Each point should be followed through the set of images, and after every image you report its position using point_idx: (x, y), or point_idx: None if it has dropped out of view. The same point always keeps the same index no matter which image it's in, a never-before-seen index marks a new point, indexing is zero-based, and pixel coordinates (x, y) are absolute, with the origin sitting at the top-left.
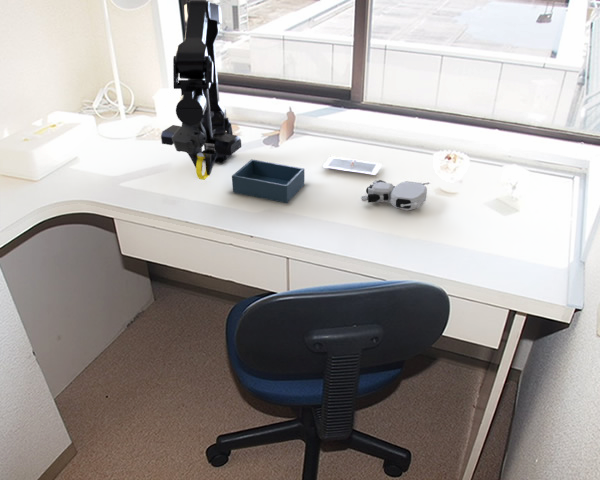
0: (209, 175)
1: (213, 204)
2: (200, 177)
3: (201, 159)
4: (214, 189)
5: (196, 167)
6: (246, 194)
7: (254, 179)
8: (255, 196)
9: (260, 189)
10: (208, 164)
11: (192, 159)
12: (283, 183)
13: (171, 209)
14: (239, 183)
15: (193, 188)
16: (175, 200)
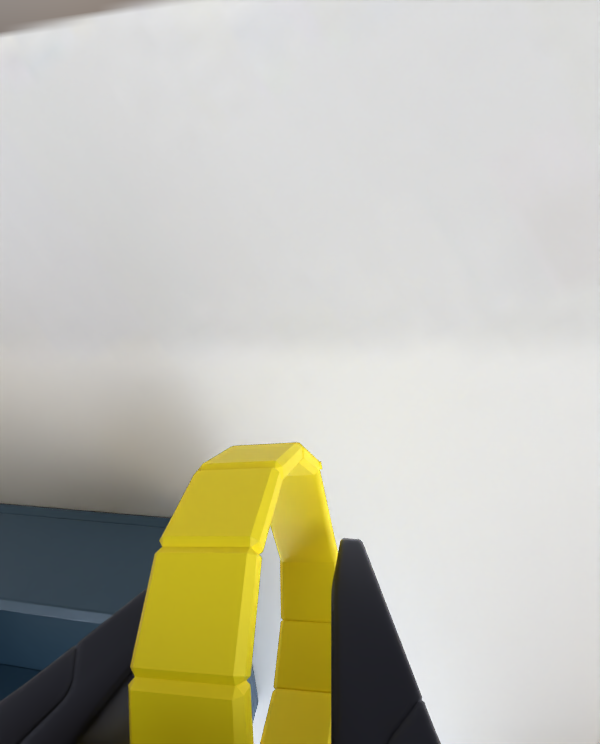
0: (282, 562)
1: (241, 345)
2: (261, 447)
3: (151, 739)
4: (360, 527)
5: (243, 535)
6: (141, 518)
7: (16, 607)
8: (89, 513)
9: (21, 547)
10: (89, 642)
11: (406, 740)
12: (58, 649)
13: (522, 108)
14: (147, 573)
15: (514, 503)
16: (569, 283)
